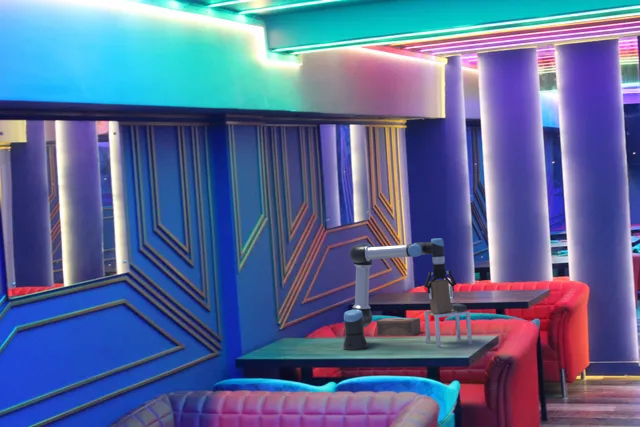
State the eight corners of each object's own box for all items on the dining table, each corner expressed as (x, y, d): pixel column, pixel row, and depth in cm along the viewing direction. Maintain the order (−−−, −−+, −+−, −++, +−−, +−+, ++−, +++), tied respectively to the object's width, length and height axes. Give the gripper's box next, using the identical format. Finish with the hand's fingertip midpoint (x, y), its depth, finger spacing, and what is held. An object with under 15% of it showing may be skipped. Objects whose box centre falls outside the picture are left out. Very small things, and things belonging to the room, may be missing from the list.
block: (437, 314, 583) (434, 282, 582) (430, 313, 592) (426, 281, 592) (452, 312, 586) (448, 279, 586) (445, 310, 595) (441, 279, 595)
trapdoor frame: (426, 342, 598) (424, 311, 598) (459, 339, 603) (457, 307, 602) (437, 347, 577) (435, 314, 577) (472, 344, 581) (469, 311, 581)
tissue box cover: (420, 332, 646) (419, 317, 645) (413, 336, 633) (412, 321, 633) (385, 332, 657) (384, 318, 657) (377, 335, 644) (376, 321, 644)
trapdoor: (429, 314, 596) (428, 308, 596) (458, 309, 600) (457, 303, 600) (438, 317, 580) (437, 311, 579) (467, 312, 583) (466, 305, 583)
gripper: (421, 265, 582) (423, 300, 583) (460, 262, 587) (462, 296, 588) (417, 264, 590) (420, 298, 590) (456, 261, 595) (458, 295, 595)
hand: (441, 297), depth 589 cm, fingers open, 13 cm apart
